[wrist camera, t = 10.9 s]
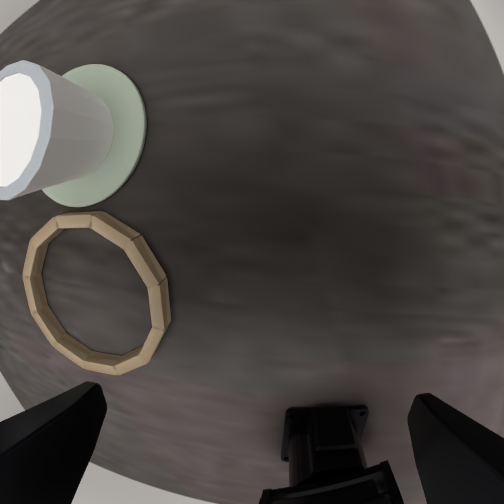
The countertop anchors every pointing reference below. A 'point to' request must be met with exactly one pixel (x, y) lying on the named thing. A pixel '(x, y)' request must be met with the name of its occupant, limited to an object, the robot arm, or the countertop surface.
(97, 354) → the collar
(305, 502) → the robot arm
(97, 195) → the pale green round disc
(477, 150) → the countertop surface
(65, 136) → the shot glass
